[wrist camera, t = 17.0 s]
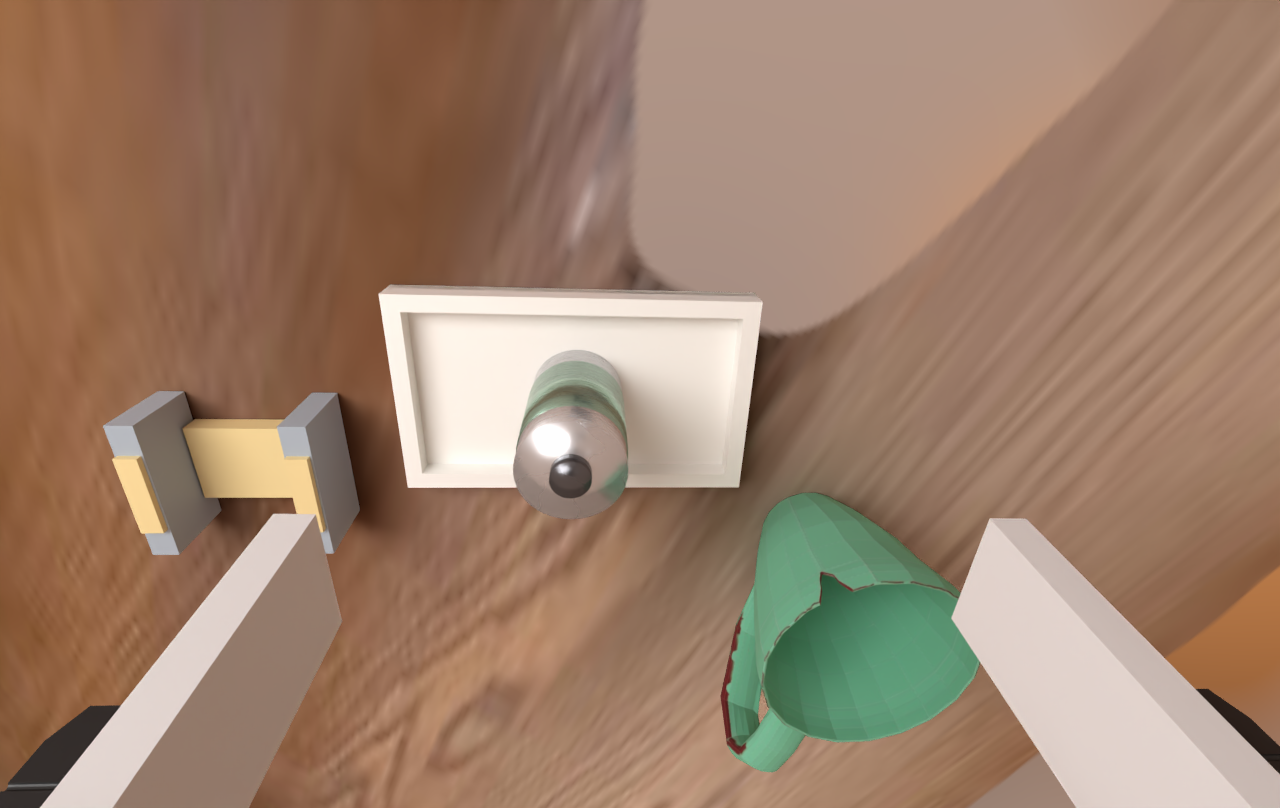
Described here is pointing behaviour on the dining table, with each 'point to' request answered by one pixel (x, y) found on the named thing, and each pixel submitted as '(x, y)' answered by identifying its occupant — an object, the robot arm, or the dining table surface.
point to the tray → (552, 323)
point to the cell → (573, 437)
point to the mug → (838, 636)
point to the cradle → (230, 466)
